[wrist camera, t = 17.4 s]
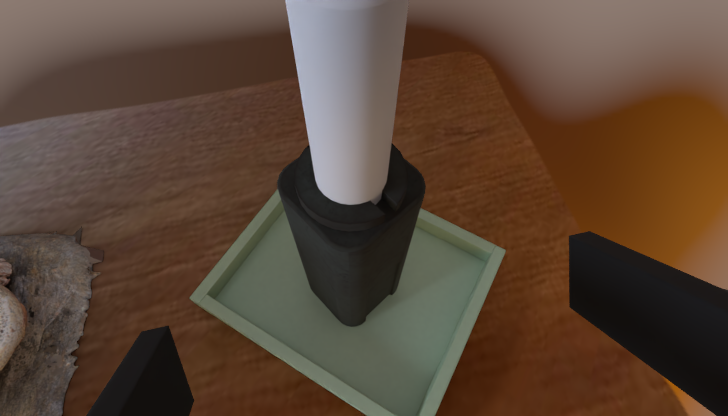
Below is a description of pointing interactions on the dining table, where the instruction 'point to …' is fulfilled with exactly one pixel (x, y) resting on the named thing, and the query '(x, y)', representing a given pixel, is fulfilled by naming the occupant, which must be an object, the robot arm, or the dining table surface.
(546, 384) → the dining table surface
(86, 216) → the dining table surface
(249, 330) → the tray
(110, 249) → the dining table surface
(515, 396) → the dining table surface
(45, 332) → the cherub figurine
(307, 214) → the candle
